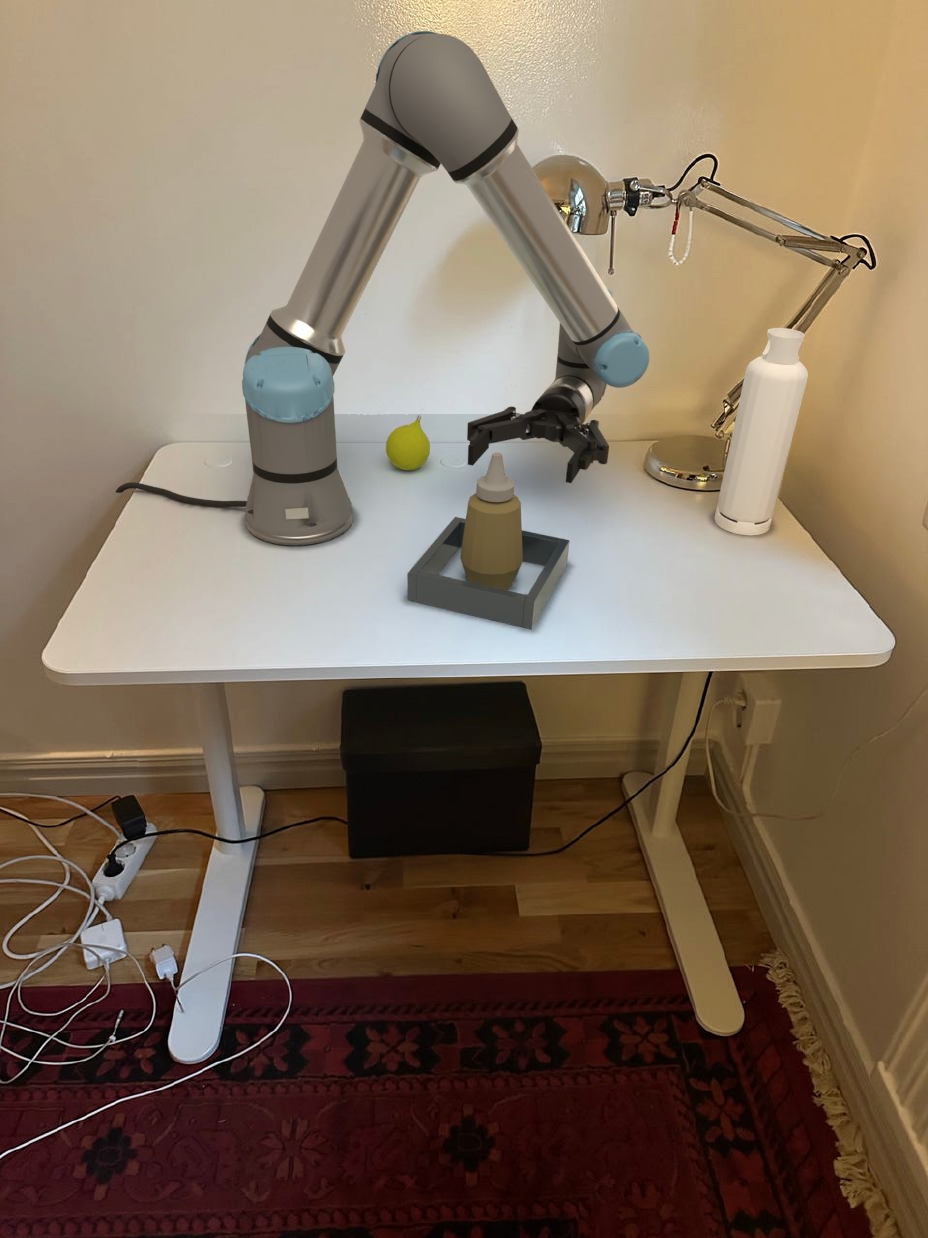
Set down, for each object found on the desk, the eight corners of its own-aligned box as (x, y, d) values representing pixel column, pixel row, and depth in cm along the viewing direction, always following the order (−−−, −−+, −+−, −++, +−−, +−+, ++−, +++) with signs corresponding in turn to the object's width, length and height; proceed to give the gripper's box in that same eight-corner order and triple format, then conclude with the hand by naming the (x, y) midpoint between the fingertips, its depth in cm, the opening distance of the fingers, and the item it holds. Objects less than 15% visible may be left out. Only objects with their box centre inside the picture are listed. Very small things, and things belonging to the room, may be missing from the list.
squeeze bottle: (446, 582, 115) (449, 453, 105) (487, 560, 120) (494, 435, 110) (492, 606, 111) (500, 474, 100) (533, 582, 116) (544, 454, 105)
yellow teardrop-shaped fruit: (438, 468, 144) (439, 410, 138) (406, 481, 140) (406, 421, 134) (409, 455, 148) (408, 397, 142) (377, 467, 144) (375, 408, 138)
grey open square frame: (407, 600, 111) (407, 573, 109) (454, 541, 124) (455, 516, 122) (531, 629, 107) (534, 601, 104) (567, 565, 119) (569, 539, 117)
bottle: (772, 538, 128) (822, 344, 112) (715, 531, 129) (756, 339, 113) (767, 513, 134) (814, 327, 118) (713, 507, 135) (752, 321, 120)
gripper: (640, 447, 131) (609, 507, 114) (482, 420, 138) (431, 474, 121) (648, 398, 127) (616, 453, 110) (484, 373, 133) (431, 422, 117)
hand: (519, 464), depth 116 cm, fingers open, 13 cm apart
